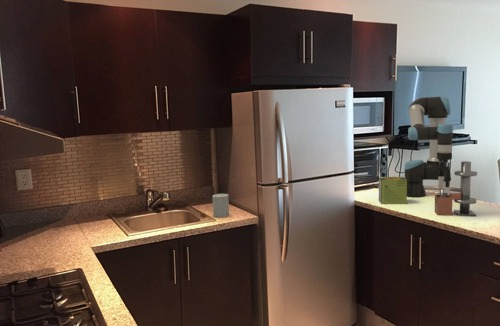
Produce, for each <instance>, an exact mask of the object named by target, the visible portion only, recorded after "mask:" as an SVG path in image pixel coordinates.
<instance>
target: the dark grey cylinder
mask: <svg viewBox="0 0 500 326" xmlns="http://www.w3.org/2000/svg"><path fill="white" fill-rule="evenodd" d="M439 195H440V197H447V195H449V193H444V188H439Z"/></svg>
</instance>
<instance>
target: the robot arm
mask: <svg viewBox="0 0 500 326" xmlns="http://www.w3.org/2000/svg"><path fill="white" fill-rule="evenodd" d="M407 111H408V116H409V117H410V126H409V127H408V130H407V132H408V135H407V137H408V140H410V141H429V156H428V158H427V159H426V161H425V162H424V159H414V160H408V161H406V162H405V163H404V168H403V170H404V178H406V179H407V197H408V198H409V197H410V198H423V197H426V195H427V194H426V189H425V186H424V181H426V180H427V181H428V180H431V181H438V182H437V183H438V184H437V185H438V186H437V188H438V189H440V188H444V193H448V194H449V193H451V192H450V190H451V188H450V186H451V184H450V183H451V181H452V177H451V176H452V175H451V162H449V161H451V160H452V159H453V135H454V133H453V132H454V128H453V124H452V123H445V121H446V119H448V116H449V115H451V105H450V100H449V98H448V96H426V97H419V98H417V99H415V100H413V101H412V102H411V103H410V104H409V106H408V110H407ZM424 116H427V119H428V120H429V126H426V124H425V118H424Z"/></svg>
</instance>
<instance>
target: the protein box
mask: <svg viewBox="0 0 500 326" xmlns="http://www.w3.org/2000/svg"><path fill="white" fill-rule="evenodd" d="M407 197H408V196H407V179H406V178H405V176H382V177H381V176H378V201H379V203H380V205H407V204H408V203H407V202H408V199H407Z"/></svg>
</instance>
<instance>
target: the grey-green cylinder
mask: <svg viewBox="0 0 500 326" xmlns="http://www.w3.org/2000/svg"><path fill="white" fill-rule="evenodd" d="M212 213H213V215H212V216H213V217H214V218H216V219H217V218H218V219H222V218H223V219H224V218H227V217H230V203H229V193H216V194H213V195H212Z"/></svg>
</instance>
